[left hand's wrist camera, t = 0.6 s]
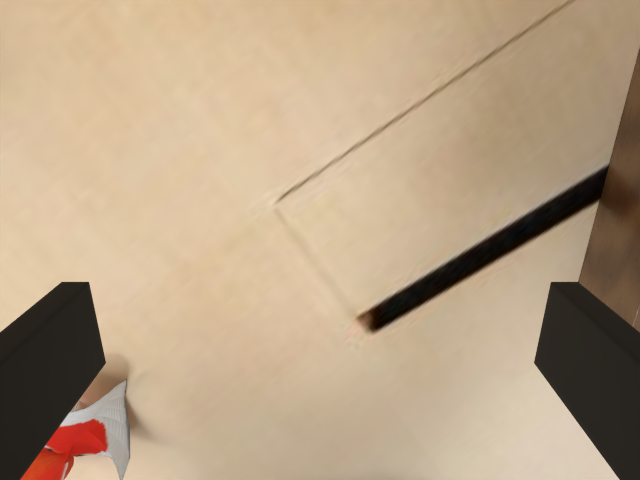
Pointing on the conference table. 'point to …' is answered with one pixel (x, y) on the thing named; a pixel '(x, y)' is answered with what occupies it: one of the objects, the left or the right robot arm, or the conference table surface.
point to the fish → (87, 438)
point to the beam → (619, 221)
